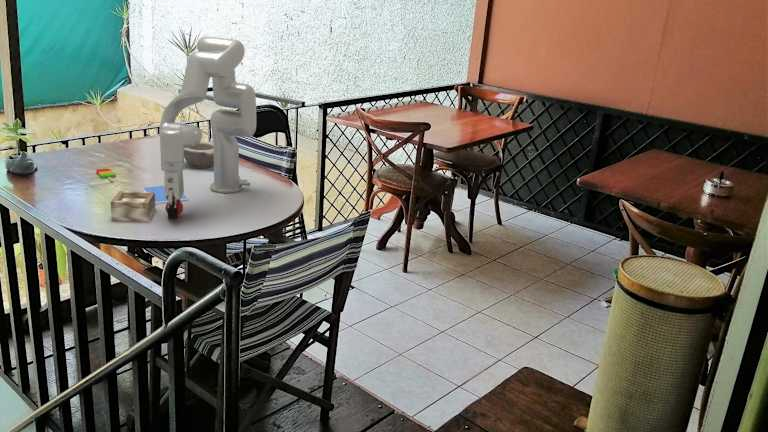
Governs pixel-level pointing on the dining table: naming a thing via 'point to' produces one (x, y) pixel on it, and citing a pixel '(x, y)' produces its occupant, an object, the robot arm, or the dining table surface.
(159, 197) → the tablet computer
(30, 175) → the dining table surface
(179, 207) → the onion
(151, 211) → the wooden box
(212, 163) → the mortar
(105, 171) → the popsicle
